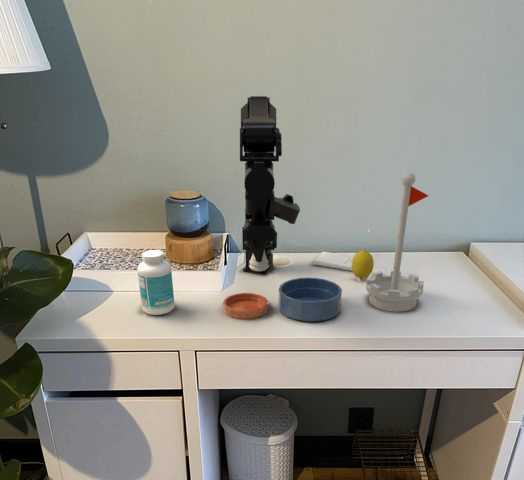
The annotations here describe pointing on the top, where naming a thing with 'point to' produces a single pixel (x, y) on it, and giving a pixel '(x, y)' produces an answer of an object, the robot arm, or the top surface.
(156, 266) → the pill bottle
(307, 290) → the bowl
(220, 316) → the top surface
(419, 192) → the flag stand
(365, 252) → the lemon
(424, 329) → the top surface
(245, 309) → the orange round lid
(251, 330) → the top surface
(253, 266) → the rook chess piece
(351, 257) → the hard drive
